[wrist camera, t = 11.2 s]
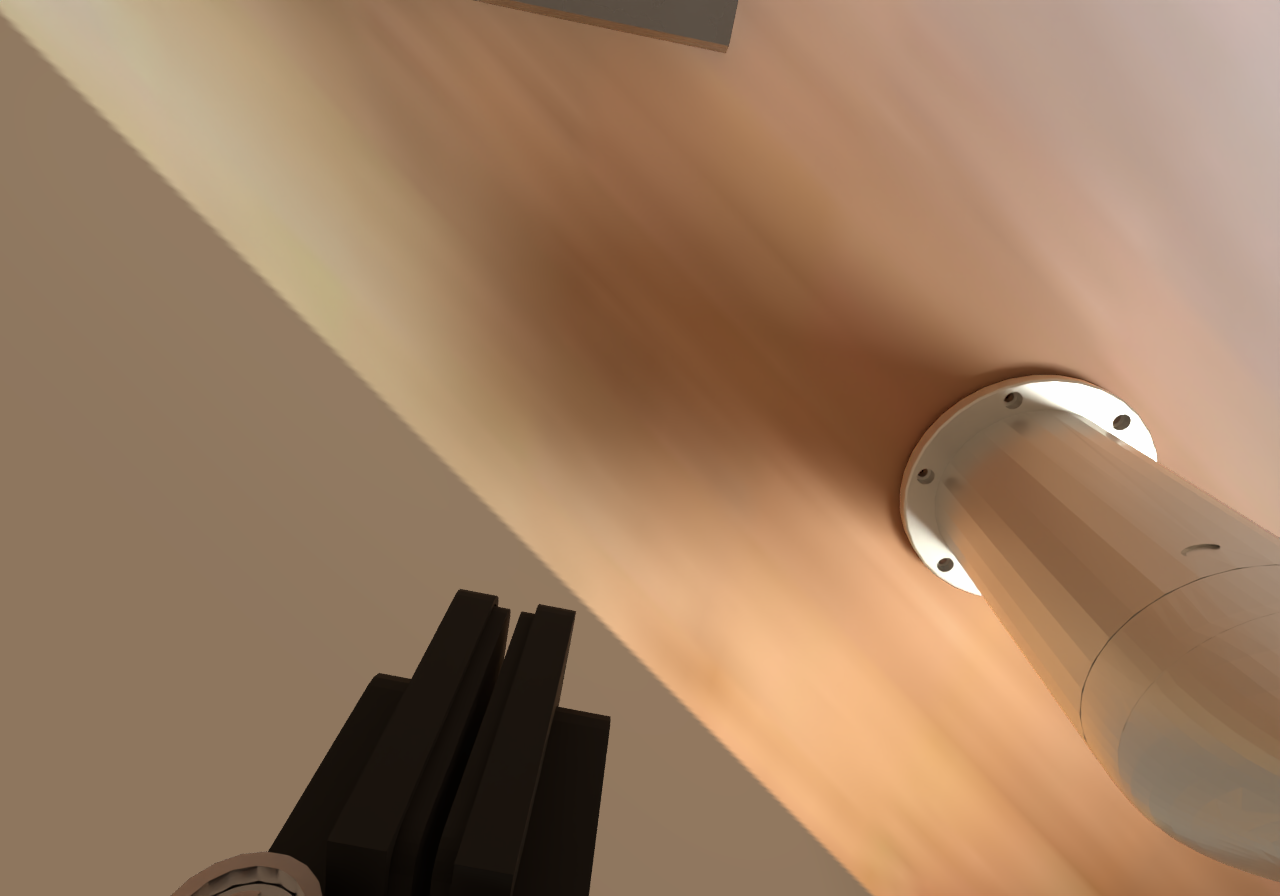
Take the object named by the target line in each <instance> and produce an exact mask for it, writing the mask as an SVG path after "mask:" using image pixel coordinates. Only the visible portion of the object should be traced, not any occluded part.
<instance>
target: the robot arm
mask: <svg viewBox="0 0 1280 896" xmlns="http://www.w3.org/2000/svg"><path fill="white" fill-rule="evenodd" d="M1008 394H1010V396H1009V398H1007V399H1005V397H1006V396H1007V395H1008ZM1004 399H1005V400H1004ZM923 469H925V470H924V472H922V473H919V472H920V471H921V470H923ZM900 514H901V519H902V523H903V527H904V531H905V533H906V535H907V537H908V539H909V541H910V543H911V545H912V547H913V549H914V550H915V552H916V553H917V554H918V556H919V557H920V559H921V560H922V562H923V563H924V564H925V565H926V566H927V567H928V568H929V569H930V570H931V572H932V573H933V574H935V575H936V576H937V577H939V578H940V579H942V580H943V581H945V582H947V583H948V584H950V585H951V586H953V587H955V588H958V589H960V590H963V591H965V592H968V593H970V594H973V595H978V596H983V598H984V599H985V600H986V602H987V603H988V605H989V606H990V608H991V609H992V610H993V612H994V613H995V615H996V616H997V618H998V619H999V620H1000V622H1001V623H1002V625H1003V626H1004V628H1005V629H1006V630H1007V632H1008V633H1009V635H1010V636H1011V638H1012V639H1013V640H1014V642H1015V643H1016V645H1017V646H1018V648H1019V649H1020V650H1021V652H1022V653H1023V655H1024V656H1025V658H1026V659H1027V660H1028V662H1029V663H1030V665H1031V666H1032V668H1033V669H1034V670H1035V672H1036V673H1037V675H1038V676H1039V677H1040V679H1041V680H1042V682H1043V683H1044V685H1045V686H1046V687H1047V689H1048V690H1049V692H1050V693H1051V695H1052V696H1053V697H1054V699H1055V700H1056V702H1057V703H1058V705H1059V706H1060V707H1061V709H1062V710H1063V712H1064V713H1065V715H1066V716H1067V717H1068V719H1069V720H1070V722H1071V723H1072V725H1073V726H1074V727H1075V729H1076V730H1077V732H1078V733H1079V735H1080V736H1081V737H1082V739H1083V740H1084V742H1085V743H1086V745H1087V746H1088V747H1089V749H1090V750H1091V752H1092V753H1093V755H1094V756H1095V757H1096V759H1097V760H1098V761H1099V762H1100V764H1101V765H1102V767H1103V768H1104V770H1105V771H1106V772H1107V774H1108V775H1109V777H1110V778H1111V779H1112V781H1113V782H1114V783H1115V785H1116V786H1117V787H1118V788H1119V789H1120V791H1121V792H1122V793H1123V794H1124V795H1125V797H1126V798H1127V799H1128V800H1129V801H1130V803H1131V804H1132V805H1133V806H1134V807H1135V808H1137V809H1138V810H1139V811H1140V812H1141V813H1142V814H1143V815H1144V816H1145V817H1146V818H1147V819H1148V820H1149V821H1151V822H1152V823H1153V824H1154V825H1156V826H1157V827H1158V828H1160V829H1161V830H1162V831H1164V832H1165V833H1167V834H1168V835H1169V836H1171V837H1172V838H1174V839H1175V840H1177V841H1178V842H1180V843H1182V844H1184V845H1186V846H1188V847H1189V848H1191V849H1193V850H1195V851H1197V852H1199V853H1201V854H1203V855H1205V856H1207V857H1209V858H1211V859H1214V860H1216V861H1218V862H1221V863H1223V864H1226V865H1228V866H1231V867H1234V868H1237V869H1240V870H1242V871H1245V872H1248V873H1251V874H1254V875H1257V876H1260V877H1263V878H1267V879H1270V880H1273V881H1277V882H1280V538H1279V537H1277V536H1276V535H1274V534H1273V533H1271V532H1269V531H1268V530H1266V529H1264V528H1263V527H1261V526H1260V525H1258V524H1256V523H1255V522H1253V521H1252V520H1250V519H1248V518H1247V517H1245V516H1244V515H1242V514H1240V513H1239V512H1237V511H1236V510H1234V509H1232V508H1231V507H1229V506H1228V505H1226V504H1224V503H1223V502H1221V501H1219V500H1218V499H1216V498H1215V497H1213V496H1211V495H1210V494H1208V493H1207V492H1205V491H1203V490H1202V489H1200V488H1199V487H1197V486H1195V485H1194V484H1192V483H1191V482H1189V481H1187V480H1186V479H1184V478H1183V477H1181V476H1179V475H1178V474H1176V473H1174V472H1173V471H1171V470H1170V469H1168V468H1166V467H1165V466H1163V465H1162V464H1160V463H1158V459H1157V451H1156V448H1155V445H1154V442H1153V439H1152V436H1151V434H1150V431H1149V430H1148V428H1147V427H1146V425H1145V424H1144V422H1143V421H1142V419H1141V418H1140V416H1139V415H1138V414H1137V413H1136V412H1135V411H1134V410H1133V409H1132V408H1131V407H1130V406H1129V405H1128V404H1127V403H1125V402H1124V401H1123V400H1122V399H1120V398H1119V397H1117V396H1115V395H1114V394H1112V393H1110V392H1108V391H1107V390H1105V389H1103V388H1101V387H1098V386H1096V385H1094V384H1091V383H1089V382H1087V381H1084V380H1081V379H1076V378H1071V377H1066V376H1061V375H1030V376H1024V377H1018V378H1011V379H1007V380H1004V381H1001V382H998V383H996V384H993V385H990V386H987V387H984V388H982V389H980V390H978V391H977V392H975V393H973V394H971V395H969V396H967V397H965V398H963V399H962V400H960V401H959V402H958V403H956V404H955V405H954V406H952V407H951V408H950V409H948V410H947V411H946V412H944V413H943V414H942V415H941V416H940V417H939V418H938V419H937V420H936V421H935V422H934V423H933V424H932V425H931V427H930V428H929V429H928V430H927V431H926V432H925V433H924V435H923V436H922V438H921V439H920V441H919V442H918V444H917V445H916V447H915V448H914V450H913V451H912V454H911V456H910V458H909V461H908V463H907V466H906V468H905V470H904V474H903V479H902V484H901V488H900ZM575 614H576V611H572V610H567V609H562V608H556V607H551V606H546V605H541V604H539V605H538V607H537V610H536V613H535V614H532V613H527V612H521V614H520V617H519V619H518V623H517V625H516V628H515V631H514V634H513V636H512V639H511V642H510V645H509V647H508V650H507V653H506V656H505V659H504V655H505V649H506V641H507V635H508V628H509V620H510V609H506V608H501V607H498V597H497V596H494V595H489V594H483V593H478V592H473V591H468V590H463V589H460V590H458V592H457V593H456V595H455V597H454V599H453V601H452V602H451V604H450V606H449V608H448V610H447V612H446V614H445V616H444V618H443V620H442V622H441V624H440V625H439V627H438V629H437V631H436V633H435V635H434V637H433V639H432V641H431V643H430V645H429V646H428V648H427V650H426V652H425V654H424V656H423V658H422V660H421V662H420V664H419V665H418V667H417V669H416V671H415V673H414V675H413V677H412V679H408V678H403V677H397V676H391V675H387V674H381V673H379V674H377V675H376V676H375V677H374V678H373V679H372V681H371V682H370V683H369V685H368V686H367V688H366V690H365V692H364V693H363V695H362V696H361V698H360V700H359V701H358V703H357V705H356V706H355V708H354V710H353V712H352V713H351V715H350V716H349V718H348V720H347V721H346V723H345V725H344V726H343V728H342V729H341V731H340V733H339V735H338V736H337V738H336V740H335V741H334V743H333V745H332V746H331V748H330V749H329V751H328V753H327V755H326V756H325V758H324V759H323V761H322V763H321V764H320V766H319V768H318V769H317V771H316V773H315V775H314V776H313V778H312V779H311V781H310V783H309V785H308V786H307V788H306V789H305V791H304V793H303V795H302V796H301V798H300V800H299V801H298V803H297V804H296V806H295V808H294V810H293V811H292V813H291V815H290V816H289V818H288V819H287V821H286V823H285V825H284V826H283V828H282V830H281V831H280V833H279V834H278V836H277V838H276V839H275V841H274V843H273V845H272V846H271V848H270V849H269V851H268V852H257V853H248V854H240V855H237V856H235V857H232V858H229V859H226V860H223V861H220V862H217V863H214V864H213V865H211V866H209V867H208V868H206V869H205V870H203V871H201V872H199V873H198V874H196V875H194V876H193V877H191V878H189V879H188V880H187V881H186V882H185V883H184V884H183V885H182V886H181V887H180V888H178V889H177V890H176V891H175V892H174V893H173V894H172V895H171V896H589V889H590V881H591V873H592V865H593V857H594V849H595V841H596V834H597V826H598V818H599V809H600V802H601V794H602V786H603V777H604V770H605V762H606V753H607V745H608V738H609V730H610V717H609V716H604V715H599V714H593V713H588V712H583V711H577V710H572V709H567V708H562V707H558V706H559V701H560V695H561V690H562V684H563V679H564V674H565V668H566V663H567V658H568V653H569V647H570V641H571V636H572V631H573V625H574V620H575Z"/></svg>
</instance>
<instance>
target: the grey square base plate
mask: <svg viewBox="0 0 1280 896" xmlns="http://www.w3.org/2000/svg"><path fill="white" fill-rule="evenodd" d="M475 1H479V2H484V3H489V4H494V5H499V6H503V7H508V8H513V9H518V10H522V11H527V12H532V13H537V14H541V15H546V16H551V17H556V18H560V19H565V20H570V21H575V22H580V23H584V24H589V25H594V26H599V27H603V28H608V29H613V30H618V31H622V32H627V33H632V34H637V35H642V36H646V37H651V38H656V39H661V40H665V41H670V42H675V43H680V44H684V45H689V46H694V47H699V48H704V49H708V50H713V51H718V52H723V53H726V51H727V49H728V47H729V42H730V38H731V33H732V28H733V23H734V18H735V14H736V9H737V4H738V0H475Z"/></svg>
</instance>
